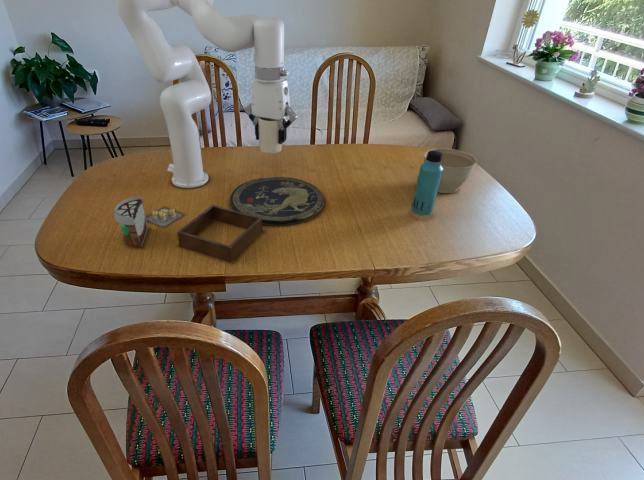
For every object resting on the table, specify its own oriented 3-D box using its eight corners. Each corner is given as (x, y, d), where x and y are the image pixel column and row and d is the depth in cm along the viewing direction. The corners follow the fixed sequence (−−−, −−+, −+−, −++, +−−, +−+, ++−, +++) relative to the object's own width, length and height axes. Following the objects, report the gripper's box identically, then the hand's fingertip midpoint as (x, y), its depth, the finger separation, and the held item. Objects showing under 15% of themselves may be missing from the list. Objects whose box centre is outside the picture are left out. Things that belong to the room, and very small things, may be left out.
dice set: (176, 215, 123) (175, 209, 122) (164, 222, 120) (163, 217, 119) (164, 210, 126) (163, 205, 124) (152, 218, 122) (151, 212, 121)
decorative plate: (216, 214, 120) (244, 172, 144) (217, 220, 121) (244, 176, 145) (317, 226, 116) (329, 180, 139) (317, 232, 117) (328, 185, 140)
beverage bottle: (432, 211, 126) (448, 149, 114) (431, 222, 121) (447, 158, 109) (410, 208, 128) (424, 146, 116) (408, 218, 123) (422, 154, 111)
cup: (255, 150, 117) (254, 119, 111) (266, 143, 121) (265, 112, 116) (275, 154, 114) (275, 122, 109) (285, 147, 119) (286, 116, 114)
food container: (127, 227, 118) (118, 196, 112) (148, 226, 118) (141, 195, 112) (116, 251, 108) (107, 219, 102) (140, 250, 108) (132, 218, 103)
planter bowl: (443, 174, 148) (450, 145, 142) (477, 193, 136) (487, 162, 130) (408, 182, 142) (414, 152, 136) (440, 202, 131) (449, 171, 124)
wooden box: (179, 246, 110) (176, 232, 108) (213, 217, 122) (212, 204, 120) (231, 262, 105) (230, 248, 102) (262, 231, 117) (262, 217, 114)
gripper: (306, 73, 105) (303, 141, 116) (248, 67, 112) (251, 131, 122) (293, 80, 100) (292, 150, 111) (233, 72, 106) (237, 139, 117)
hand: (270, 140), depth 116 cm, fingers closed on cup, 6 cm apart
